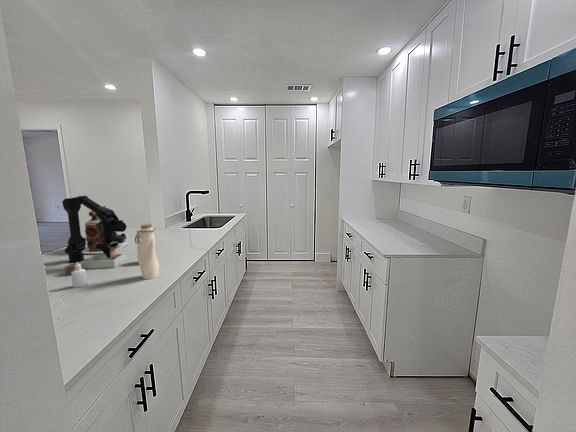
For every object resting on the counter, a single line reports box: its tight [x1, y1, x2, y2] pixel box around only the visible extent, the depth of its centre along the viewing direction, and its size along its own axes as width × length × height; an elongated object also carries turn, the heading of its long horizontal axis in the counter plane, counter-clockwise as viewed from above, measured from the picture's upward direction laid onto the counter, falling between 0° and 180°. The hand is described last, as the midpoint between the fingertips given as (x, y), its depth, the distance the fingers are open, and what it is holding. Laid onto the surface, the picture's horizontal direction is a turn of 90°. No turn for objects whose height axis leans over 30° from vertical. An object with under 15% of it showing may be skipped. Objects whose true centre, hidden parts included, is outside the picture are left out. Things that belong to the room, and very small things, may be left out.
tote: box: [80, 253, 126, 270], centre depth 162 cm, size 18×14×4 cm
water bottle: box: [134, 223, 160, 280], centre depth 140 cm, size 10×9×28 cm
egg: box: [106, 246, 117, 260], centre depth 161 cm, size 5×5×7 cm
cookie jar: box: [82, 205, 129, 255], centre depth 191 cm, size 25×25×32 cm
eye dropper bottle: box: [70, 262, 88, 289], centre depth 130 cm, size 4×6×12 cm
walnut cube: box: [64, 262, 82, 276], centre depth 147 cm, size 5×5×5 cm
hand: (111, 256), depth 162 cm, fingers closed on egg, 5 cm apart
